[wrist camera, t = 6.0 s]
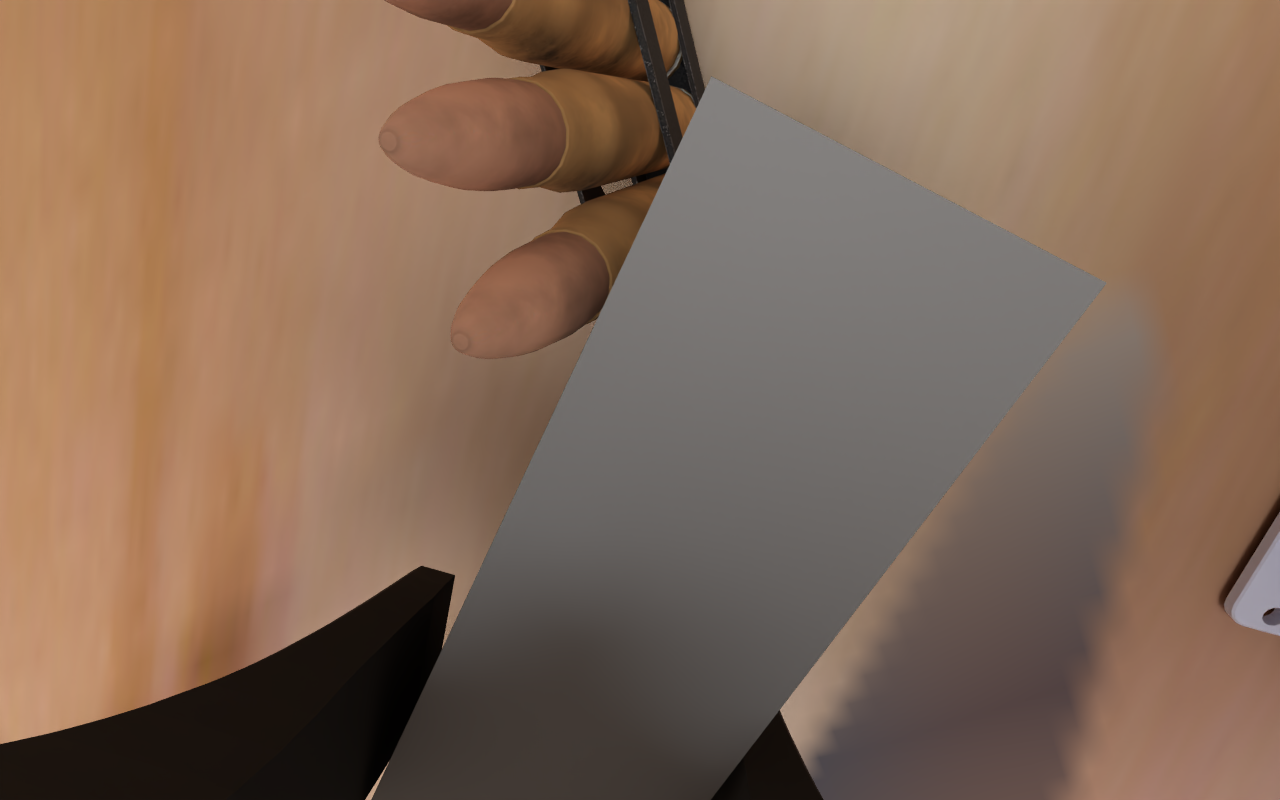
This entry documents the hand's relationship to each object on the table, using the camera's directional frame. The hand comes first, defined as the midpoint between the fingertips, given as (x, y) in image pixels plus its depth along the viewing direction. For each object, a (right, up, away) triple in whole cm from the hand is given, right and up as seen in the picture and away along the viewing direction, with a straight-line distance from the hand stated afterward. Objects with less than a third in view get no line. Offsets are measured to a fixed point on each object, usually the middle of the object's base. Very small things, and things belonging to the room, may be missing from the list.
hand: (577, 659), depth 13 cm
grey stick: (+1, +1, +2) cm, 2 cm away
